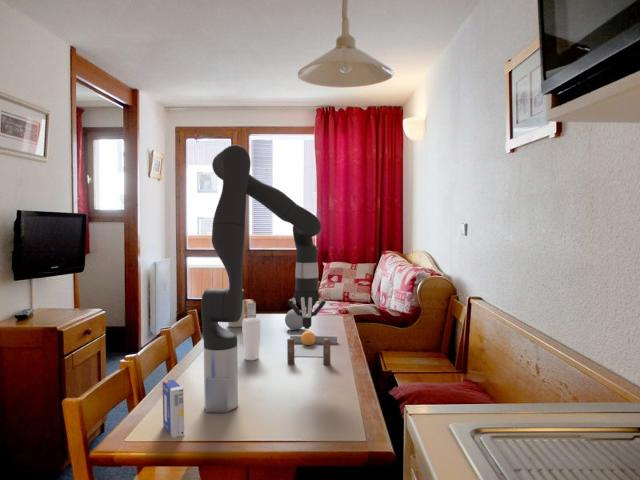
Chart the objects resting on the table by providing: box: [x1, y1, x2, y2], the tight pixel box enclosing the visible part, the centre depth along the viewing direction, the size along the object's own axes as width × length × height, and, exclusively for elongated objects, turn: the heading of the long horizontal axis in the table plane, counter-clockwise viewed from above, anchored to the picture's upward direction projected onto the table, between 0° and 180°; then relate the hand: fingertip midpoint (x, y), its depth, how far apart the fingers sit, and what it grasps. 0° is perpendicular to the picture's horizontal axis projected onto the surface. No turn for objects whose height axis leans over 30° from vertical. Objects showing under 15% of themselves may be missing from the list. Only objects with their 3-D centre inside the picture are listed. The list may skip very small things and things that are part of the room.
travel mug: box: [227, 289, 245, 328], centre depth 222 cm, size 8×8×18 cm
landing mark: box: [294, 345, 323, 358], centre depth 178 cm, size 14×14×1 cm
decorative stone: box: [284, 308, 304, 331], centre depth 213 cm, size 10×10×10 cm
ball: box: [301, 330, 316, 346], centre depth 187 cm, size 6×6×6 cm
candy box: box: [244, 298, 257, 318], centre depth 206 cm, size 9×4×15 cm, turn 17°
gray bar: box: [289, 334, 338, 345], centre depth 191 cm, size 2×20×3 cm, turn 87°
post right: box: [322, 339, 331, 366], centre depth 163 cm, size 3×3×9 cm
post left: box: [286, 337, 296, 365], centre depth 163 cm, size 3×3×9 cm
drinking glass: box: [241, 317, 262, 362], centre depth 169 cm, size 7×7×15 cm
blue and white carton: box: [162, 379, 185, 439], centre depth 111 cm, size 8×3×12 cm, turn 36°
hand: (307, 328), depth 148 cm, fingers closed
